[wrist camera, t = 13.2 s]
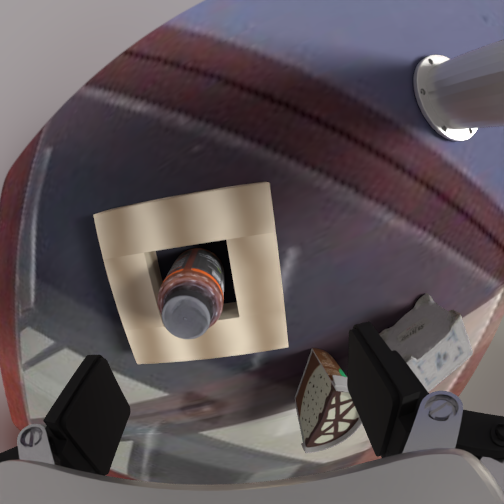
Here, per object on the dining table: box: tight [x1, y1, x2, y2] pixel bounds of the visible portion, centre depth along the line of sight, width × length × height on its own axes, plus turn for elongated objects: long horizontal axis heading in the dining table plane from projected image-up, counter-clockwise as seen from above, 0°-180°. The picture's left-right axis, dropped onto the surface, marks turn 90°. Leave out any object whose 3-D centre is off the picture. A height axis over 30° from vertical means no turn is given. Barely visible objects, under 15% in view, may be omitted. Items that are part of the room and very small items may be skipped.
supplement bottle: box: [158, 248, 225, 339], centre depth 28 cm, size 6×6×11 cm
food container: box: [294, 348, 362, 453], centre depth 33 cm, size 12×6×10 cm, turn 170°
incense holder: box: [379, 293, 473, 392], centre depth 32 cm, size 10×8×10 cm
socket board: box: [93, 182, 288, 364], centre depth 31 cm, size 18×18×4 cm
